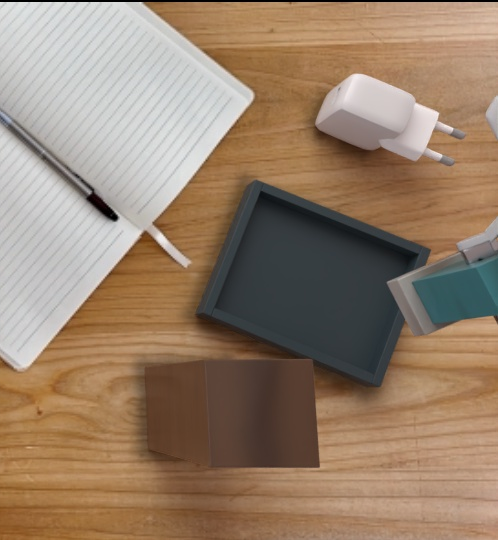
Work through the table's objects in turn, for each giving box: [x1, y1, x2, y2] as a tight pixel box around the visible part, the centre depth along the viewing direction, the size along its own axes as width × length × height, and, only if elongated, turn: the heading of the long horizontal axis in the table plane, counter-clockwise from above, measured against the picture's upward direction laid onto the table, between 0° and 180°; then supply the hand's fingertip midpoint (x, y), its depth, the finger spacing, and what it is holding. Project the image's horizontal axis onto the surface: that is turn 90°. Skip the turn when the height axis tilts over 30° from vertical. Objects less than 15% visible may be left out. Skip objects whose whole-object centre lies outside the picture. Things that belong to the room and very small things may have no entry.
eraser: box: [387, 251, 498, 337], centre depth 53 cm, size 6×4×8 cm, turn 113°
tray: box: [194, 179, 432, 388], centre depth 74 cm, size 16×13×2 cm
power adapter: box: [314, 73, 467, 167], centre depth 73 cm, size 11×5×6 cm, turn 65°
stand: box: [144, 358, 321, 469], centre depth 65 cm, size 7×7×18 cm
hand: (479, 286), depth 53 cm, fingers closed on eraser, 3 cm apart
